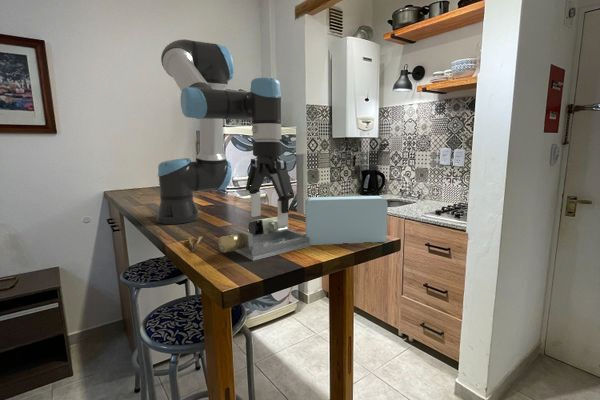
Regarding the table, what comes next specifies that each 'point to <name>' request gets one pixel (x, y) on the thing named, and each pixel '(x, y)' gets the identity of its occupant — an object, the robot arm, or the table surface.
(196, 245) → the tongs
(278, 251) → the cradle
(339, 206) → the pale blue rectangular block
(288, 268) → the table surface
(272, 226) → the pneumatic valve
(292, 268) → the table surface
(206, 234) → the table surface
